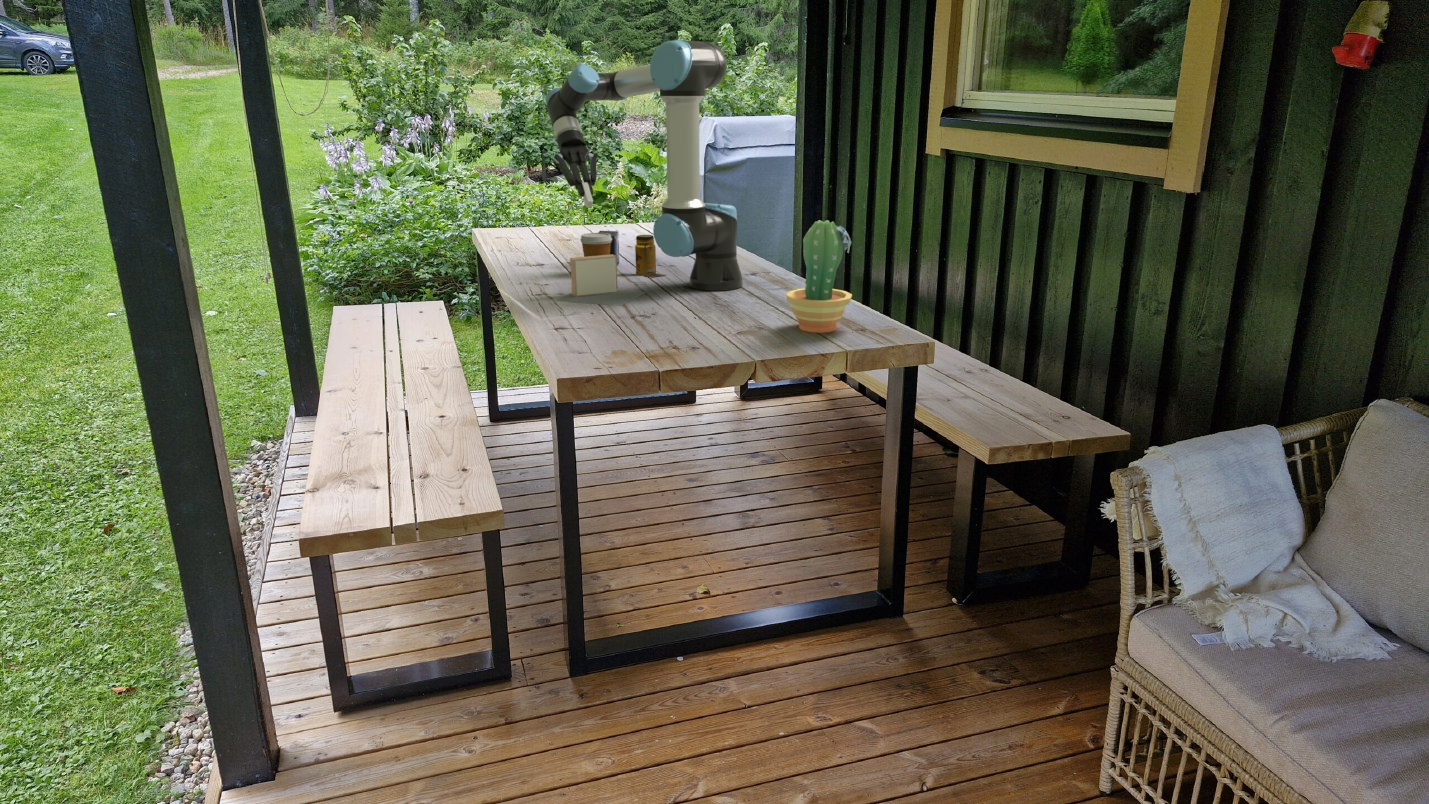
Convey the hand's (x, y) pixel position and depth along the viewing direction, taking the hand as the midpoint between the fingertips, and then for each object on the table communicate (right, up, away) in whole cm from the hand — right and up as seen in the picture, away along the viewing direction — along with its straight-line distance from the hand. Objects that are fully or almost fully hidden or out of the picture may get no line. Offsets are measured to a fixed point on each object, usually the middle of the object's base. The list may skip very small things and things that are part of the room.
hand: (589, 204), depth 253 cm
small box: (+1, -12, +39) cm, 40 cm away
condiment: (+15, -16, +24) cm, 33 cm away
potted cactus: (+59, -37, -36) cm, 78 cm away
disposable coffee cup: (-1, -16, +25) cm, 30 cm away
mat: (+4, -27, -6) cm, 28 cm away
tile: (+2, -25, -3) cm, 25 cm away
